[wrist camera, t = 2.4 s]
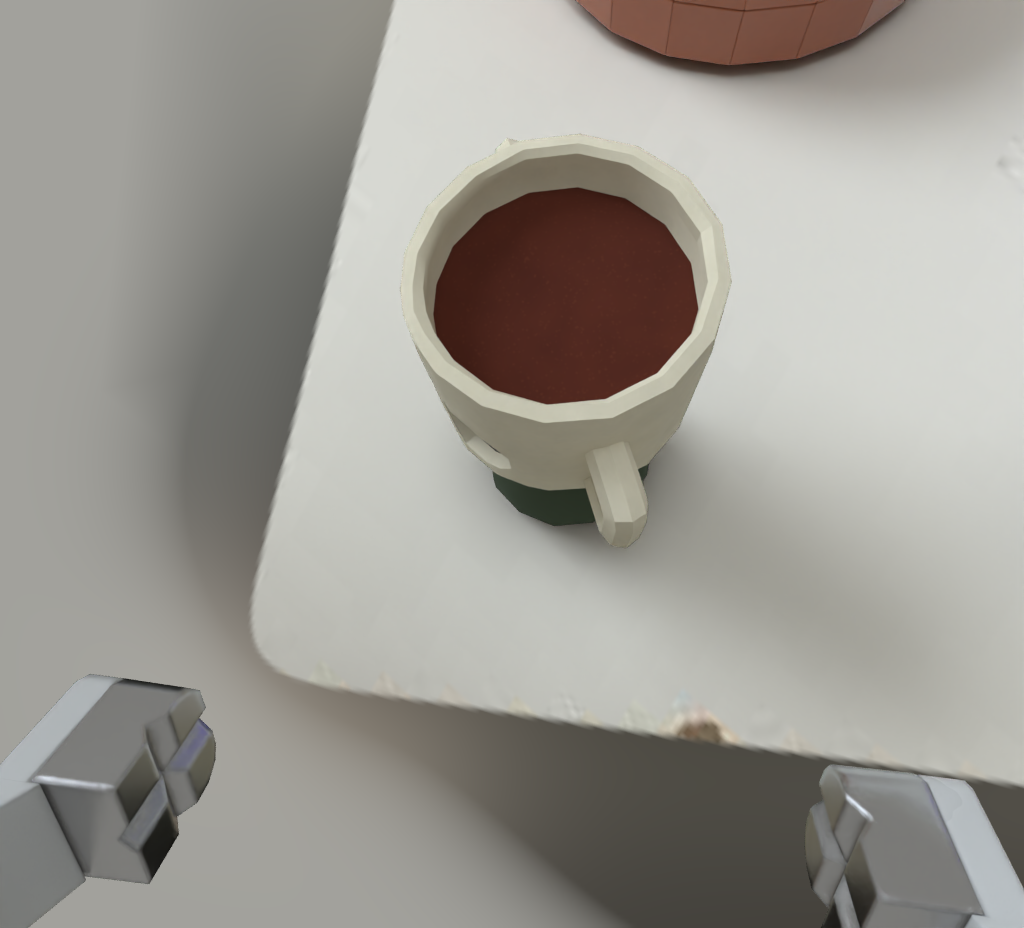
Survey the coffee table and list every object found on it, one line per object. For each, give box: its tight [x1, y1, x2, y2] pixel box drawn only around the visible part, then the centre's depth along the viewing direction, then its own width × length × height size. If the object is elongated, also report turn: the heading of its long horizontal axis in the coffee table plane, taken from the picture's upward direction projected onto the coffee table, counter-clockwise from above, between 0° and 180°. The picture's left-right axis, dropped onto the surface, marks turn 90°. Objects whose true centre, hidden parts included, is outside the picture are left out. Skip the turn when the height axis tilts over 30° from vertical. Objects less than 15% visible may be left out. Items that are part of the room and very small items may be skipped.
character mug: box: [400, 134, 732, 548], centre depth 21 cm, size 11×7×13 cm, turn 15°
